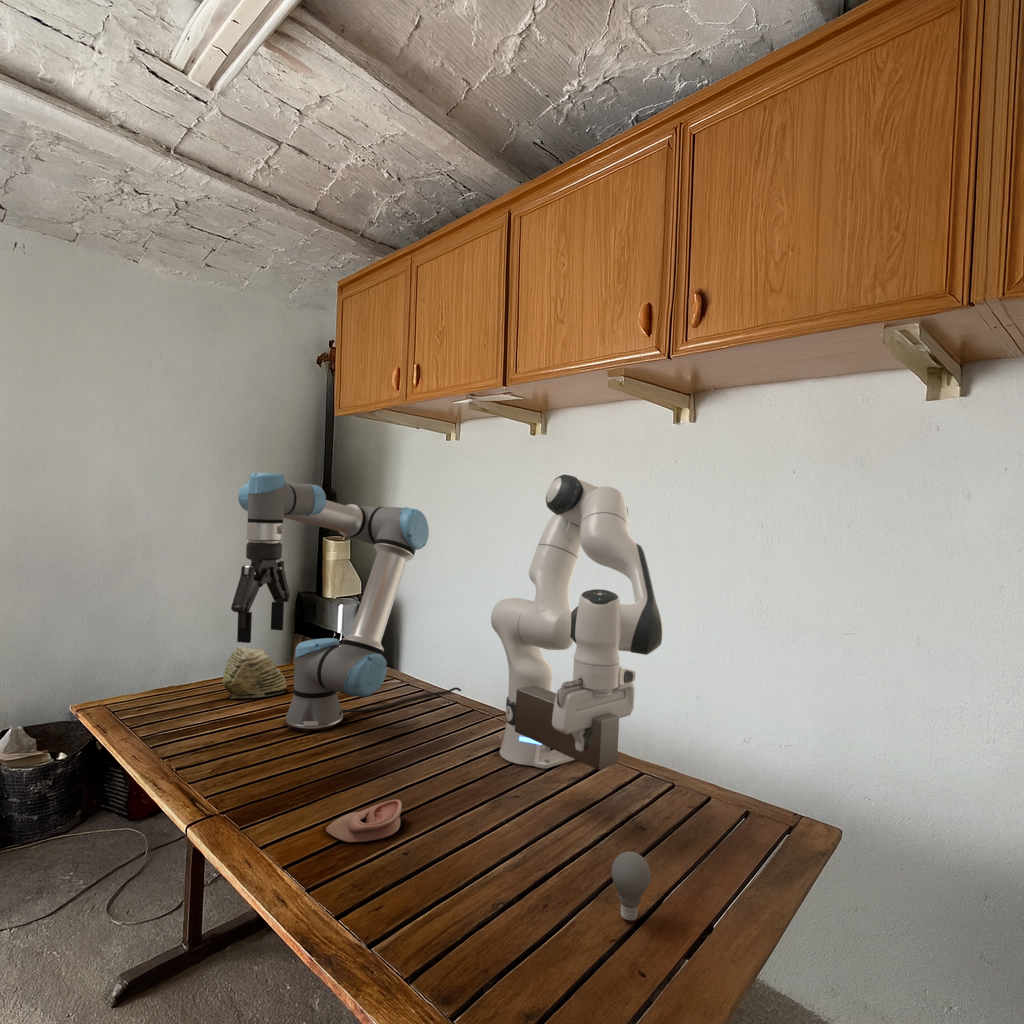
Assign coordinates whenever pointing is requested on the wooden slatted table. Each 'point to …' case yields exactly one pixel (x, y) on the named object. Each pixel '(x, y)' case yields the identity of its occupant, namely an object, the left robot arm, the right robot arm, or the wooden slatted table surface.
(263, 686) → the fossil
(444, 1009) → the wooden slatted table surface
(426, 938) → the wooden slatted table surface
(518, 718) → the bar
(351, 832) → the anatomical model
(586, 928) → the wooden slatted table surface
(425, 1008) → the wooden slatted table surface
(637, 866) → the light bulb
